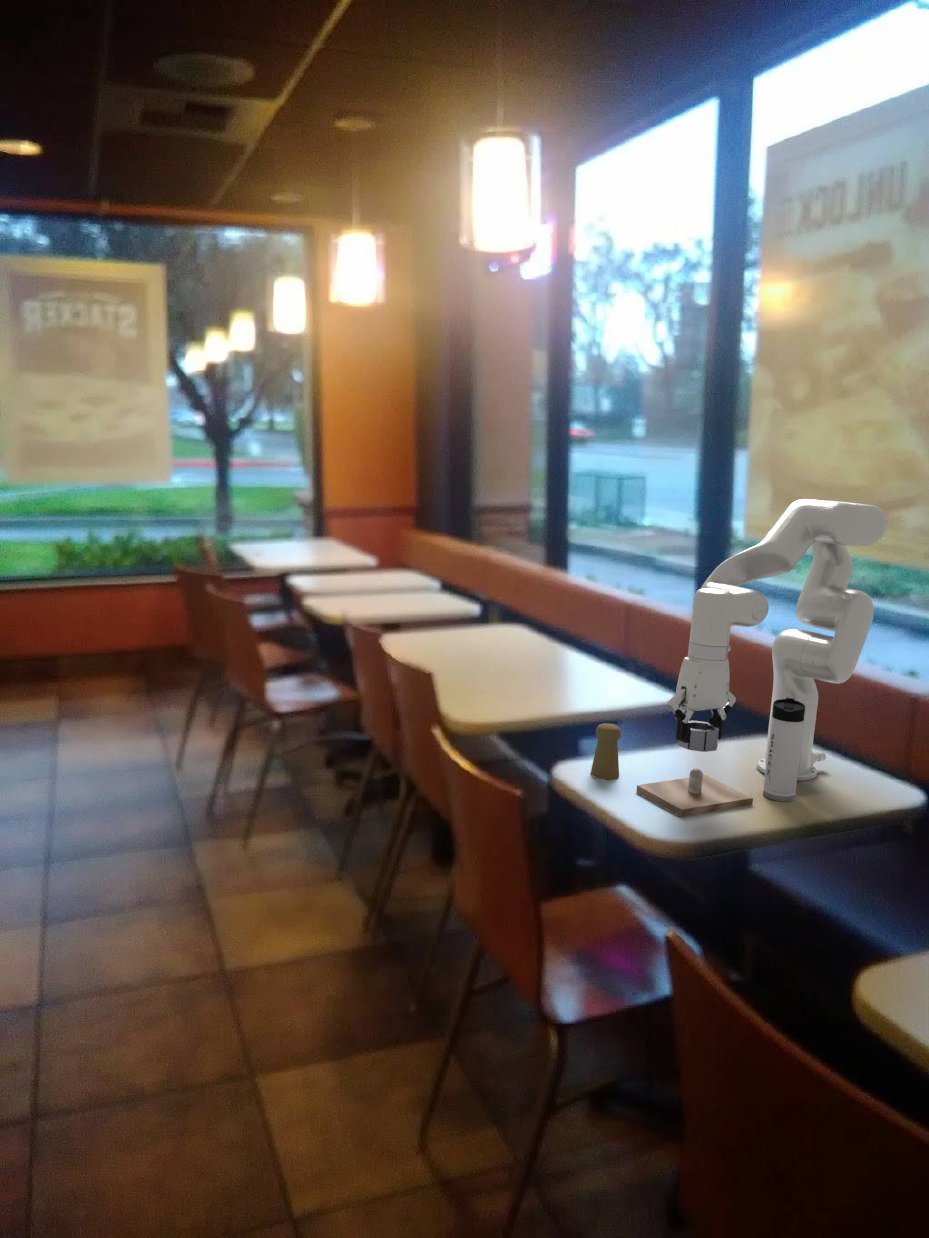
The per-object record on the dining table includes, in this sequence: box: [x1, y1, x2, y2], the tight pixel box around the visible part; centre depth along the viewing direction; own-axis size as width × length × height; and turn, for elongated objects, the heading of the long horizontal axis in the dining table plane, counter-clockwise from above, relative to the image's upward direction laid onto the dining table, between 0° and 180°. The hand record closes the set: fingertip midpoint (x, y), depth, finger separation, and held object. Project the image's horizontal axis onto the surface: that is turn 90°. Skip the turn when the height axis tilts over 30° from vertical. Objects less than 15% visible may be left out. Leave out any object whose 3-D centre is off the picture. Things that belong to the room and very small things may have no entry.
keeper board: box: [636, 767, 754, 818], centre depth 205 cm, size 18×14×6 cm
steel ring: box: [677, 720, 719, 753], centre depth 202 cm, size 7×7×4 cm
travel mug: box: [762, 698, 805, 803], centre depth 207 cm, size 6×7×20 cm
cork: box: [590, 722, 622, 781], centre depth 216 cm, size 6×6×11 cm
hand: (698, 738), depth 203 cm, fingers closed on steel ring, 7 cm apart
